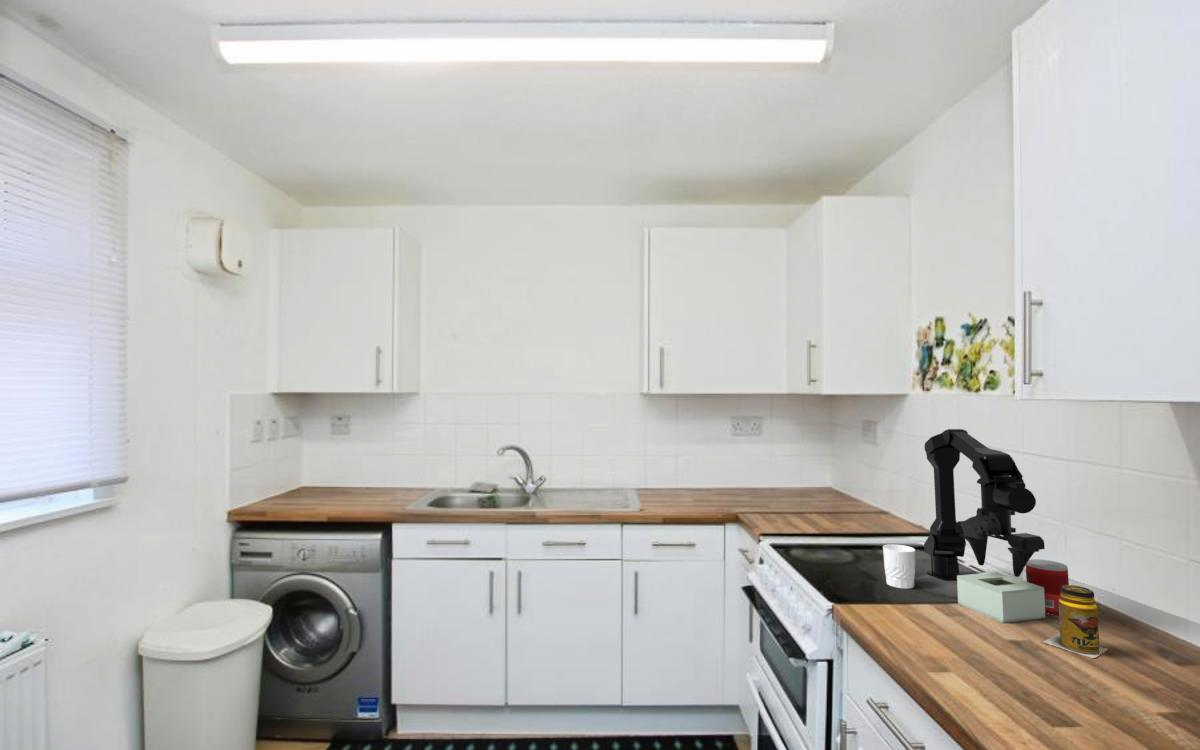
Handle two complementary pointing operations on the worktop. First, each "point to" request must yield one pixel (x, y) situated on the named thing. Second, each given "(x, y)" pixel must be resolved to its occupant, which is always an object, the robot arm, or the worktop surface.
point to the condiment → (1078, 622)
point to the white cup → (899, 565)
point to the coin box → (1001, 597)
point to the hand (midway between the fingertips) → (998, 570)
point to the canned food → (1048, 580)
